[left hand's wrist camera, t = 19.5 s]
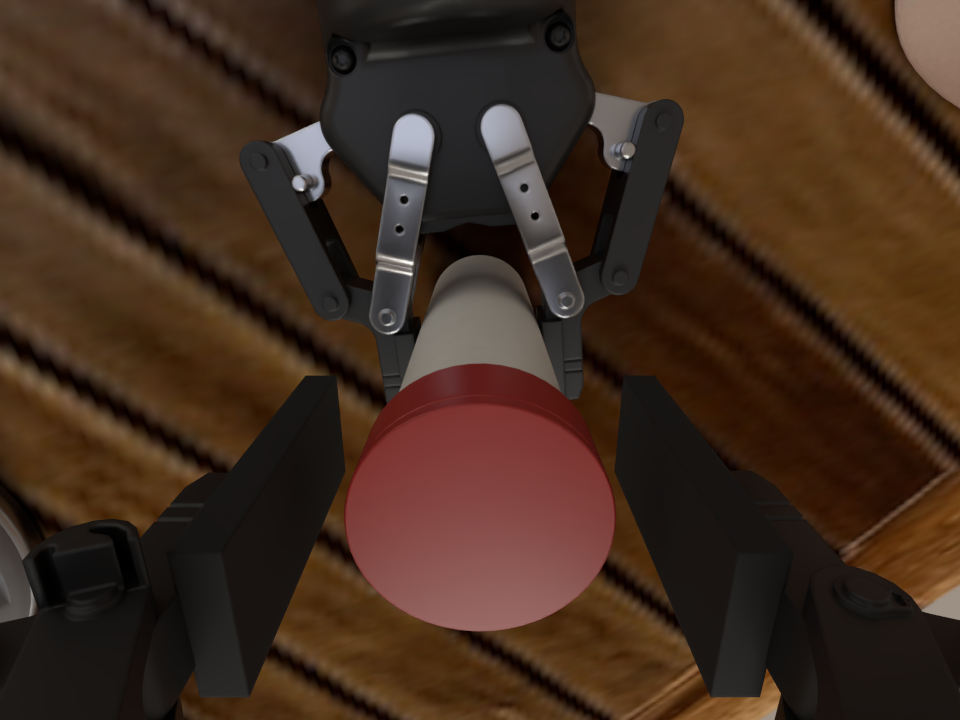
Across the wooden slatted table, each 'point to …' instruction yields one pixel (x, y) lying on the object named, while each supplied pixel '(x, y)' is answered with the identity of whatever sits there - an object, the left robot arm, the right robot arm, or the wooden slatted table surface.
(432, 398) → the lid
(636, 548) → the wooden slatted table surface
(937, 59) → the anatomical model
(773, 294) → the wooden slatted table surface
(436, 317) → the white bottle
